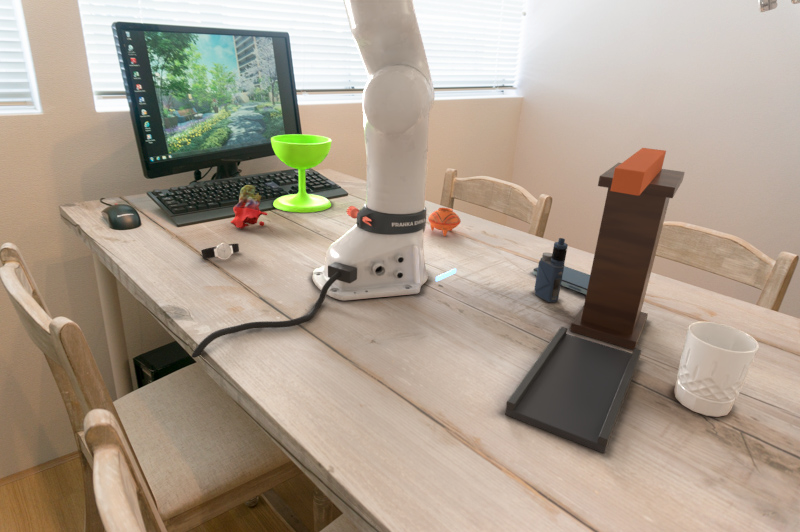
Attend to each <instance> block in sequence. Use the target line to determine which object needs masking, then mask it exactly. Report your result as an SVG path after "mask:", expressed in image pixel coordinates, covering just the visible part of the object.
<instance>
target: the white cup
mask: <svg viewBox="0 0 800 532" xmlns="http://www.w3.org/2000/svg"><path fill="white" fill-rule="evenodd" d="M682 347H683V348H682V351H681V356H680V359H679V366H678V369H677V378H676V382H675V386H674V390H673V391H674V398H675V399H676V400H677V401H678V402H679V403H680V404H681V405H682V406H683V407H685V408H687V409H688V410H690V411H692V412H695V413H697V414H699V415H703V416H707V417H716V418H719V417H724V416H728V414H729V413H730V412H731V411H732V408H733V406H734V404H735V401H736V399H737V398H738V397H739V394H740V392H741V390H742V388H743V386H744V383H745V381H746V379H747V377H748V375H749V372H750V369H751V367H752V364H753V362H754V360H755V358H756V355H757V353H758V350H759V348H760V344H759V342H758V341H757V339H755V337H753V336H752V335H750V334H749V333H748V332H746V331H743V330H742V329H739V328H737V327H734V326H731V325H729V324H724V323H720V322H715V321H704V320H703V321H695V322H692V323H690V324H689V325H688V326H687V330H686V334H685V339H684V343H683V346H682Z"/></svg>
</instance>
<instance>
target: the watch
mask: <svg viewBox="0 0 800 532" xmlns="http://www.w3.org/2000/svg"><path fill="white" fill-rule="evenodd" d="M200 252H201V256H202V258H203V259H211V258H218V259H220V260H227V259H229V258H230V257H231V256H232V255H233V254H235V253H239V252H240V245H239V243H231V244H228V243H226V242H223V241H221V243H218V245H217V246H213V247H207V248H204V249H201V250H200Z"/></svg>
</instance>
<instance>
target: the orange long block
mask: <svg viewBox="0 0 800 532" xmlns="http://www.w3.org/2000/svg"><path fill="white" fill-rule="evenodd" d="M666 153H667V150H664V149H657V148H656V149H655V148H647V147H641V148H640V149H638V151H635V152H634V153H633V154H632V155H630V156H629V157H628V158H627V159H625V160H624V161H623V162H620V163H621V164H620V165H619V166H617V167H616V168H615V171H614V176H613V180H612V185H611V190H610V191H613V192H619V193H625V194H631V195H637V196H639V195H640V194H641V193H642V192H643V191H644V189H645V188H646V187H647V186H648V185H649V184H650V182H651V181H652V180H653V179H654V178H655V177H656V175H657V174H658V173H659V172H660V171H661V170H662V169H663V166H664V161H665V157H666Z"/></svg>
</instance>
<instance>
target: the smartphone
mask: <svg viewBox="0 0 800 532" xmlns="http://www.w3.org/2000/svg"><path fill="white" fill-rule="evenodd" d="M537 271H538V266H537V267H535V268H533V270H532V274H533V275H534V276H536V277H537ZM589 279H590V274H588V273H586V272H583V271H579V270H577V269H574V268H571V267H568V266H566V265H565V266H564V271H563V276H562V281H561V286H562V287H565V288H568V289H570V290H573V291H575V292H578V293H581V294H583V295H584V296H586V293H587V289H588V284H589Z"/></svg>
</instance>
